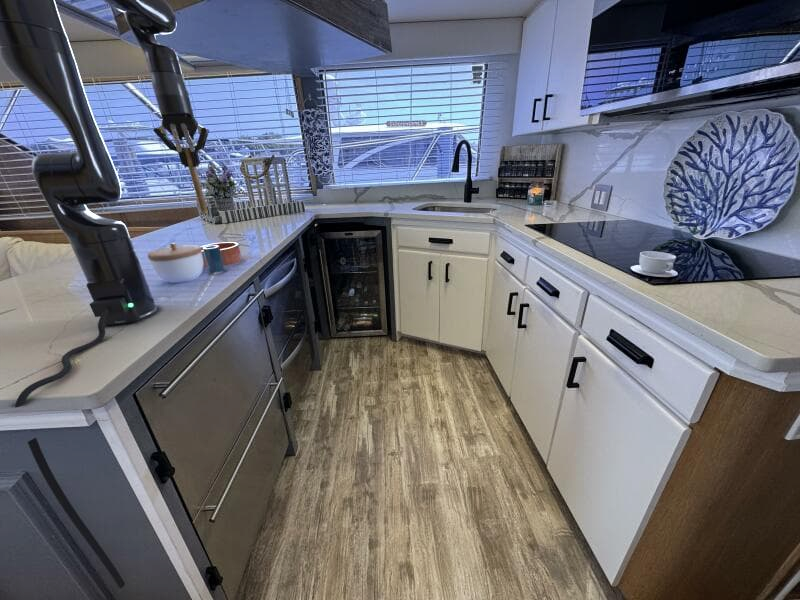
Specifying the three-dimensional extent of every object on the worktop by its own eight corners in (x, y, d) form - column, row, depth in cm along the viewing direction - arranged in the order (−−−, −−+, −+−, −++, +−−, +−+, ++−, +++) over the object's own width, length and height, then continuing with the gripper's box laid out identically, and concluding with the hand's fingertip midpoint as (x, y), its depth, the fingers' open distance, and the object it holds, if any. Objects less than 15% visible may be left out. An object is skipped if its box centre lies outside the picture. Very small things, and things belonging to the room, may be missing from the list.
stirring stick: (207, 213, 96) (189, 147, 88) (200, 214, 95) (181, 147, 88) (209, 212, 97) (191, 147, 90) (202, 213, 97) (184, 147, 90)
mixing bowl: (238, 267, 104) (233, 248, 102) (196, 271, 102) (191, 252, 99) (245, 257, 115) (241, 240, 113) (208, 260, 113) (203, 244, 110)
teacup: (621, 267, 89) (625, 251, 87) (656, 265, 89) (661, 249, 87) (648, 279, 80) (653, 261, 78) (687, 277, 80) (694, 259, 78)
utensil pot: (223, 273, 98) (216, 248, 95) (208, 275, 97) (200, 249, 94) (226, 269, 102) (220, 244, 99) (212, 271, 101) (205, 246, 98)
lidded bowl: (173, 291, 85) (159, 251, 81) (149, 284, 91) (135, 246, 87) (218, 277, 95) (207, 240, 91) (194, 271, 101) (183, 237, 97)
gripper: (135, 92, 79) (159, 168, 86) (196, 92, 82) (214, 166, 89) (149, 98, 86) (170, 167, 93) (205, 98, 89) (221, 165, 96)
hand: (192, 166), depth 91 cm, fingers closed on stirring stick, 2 cm apart
